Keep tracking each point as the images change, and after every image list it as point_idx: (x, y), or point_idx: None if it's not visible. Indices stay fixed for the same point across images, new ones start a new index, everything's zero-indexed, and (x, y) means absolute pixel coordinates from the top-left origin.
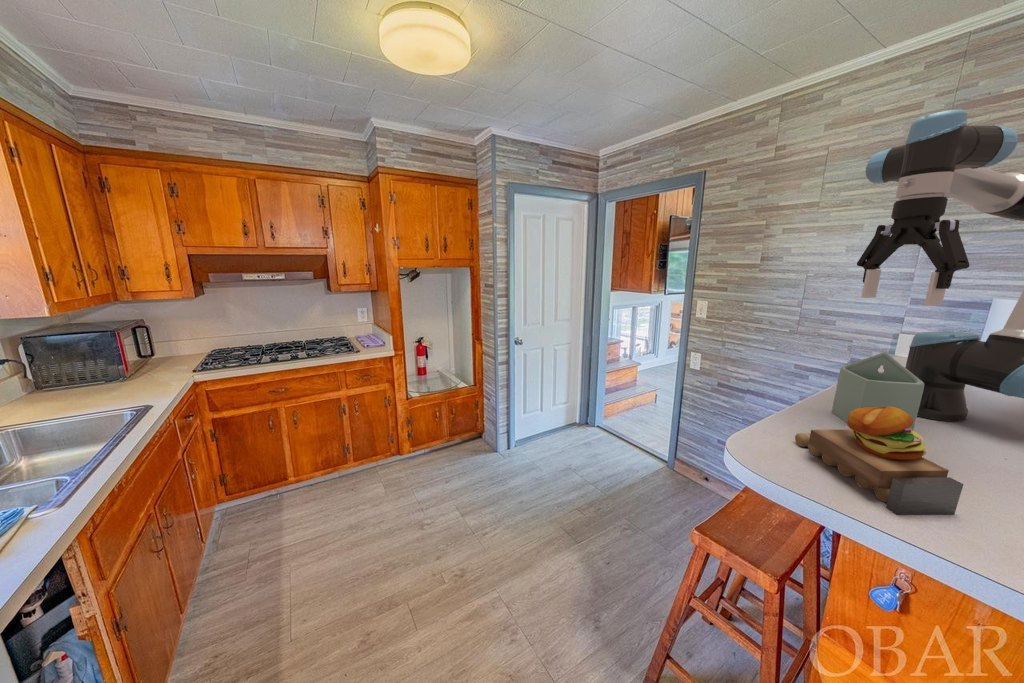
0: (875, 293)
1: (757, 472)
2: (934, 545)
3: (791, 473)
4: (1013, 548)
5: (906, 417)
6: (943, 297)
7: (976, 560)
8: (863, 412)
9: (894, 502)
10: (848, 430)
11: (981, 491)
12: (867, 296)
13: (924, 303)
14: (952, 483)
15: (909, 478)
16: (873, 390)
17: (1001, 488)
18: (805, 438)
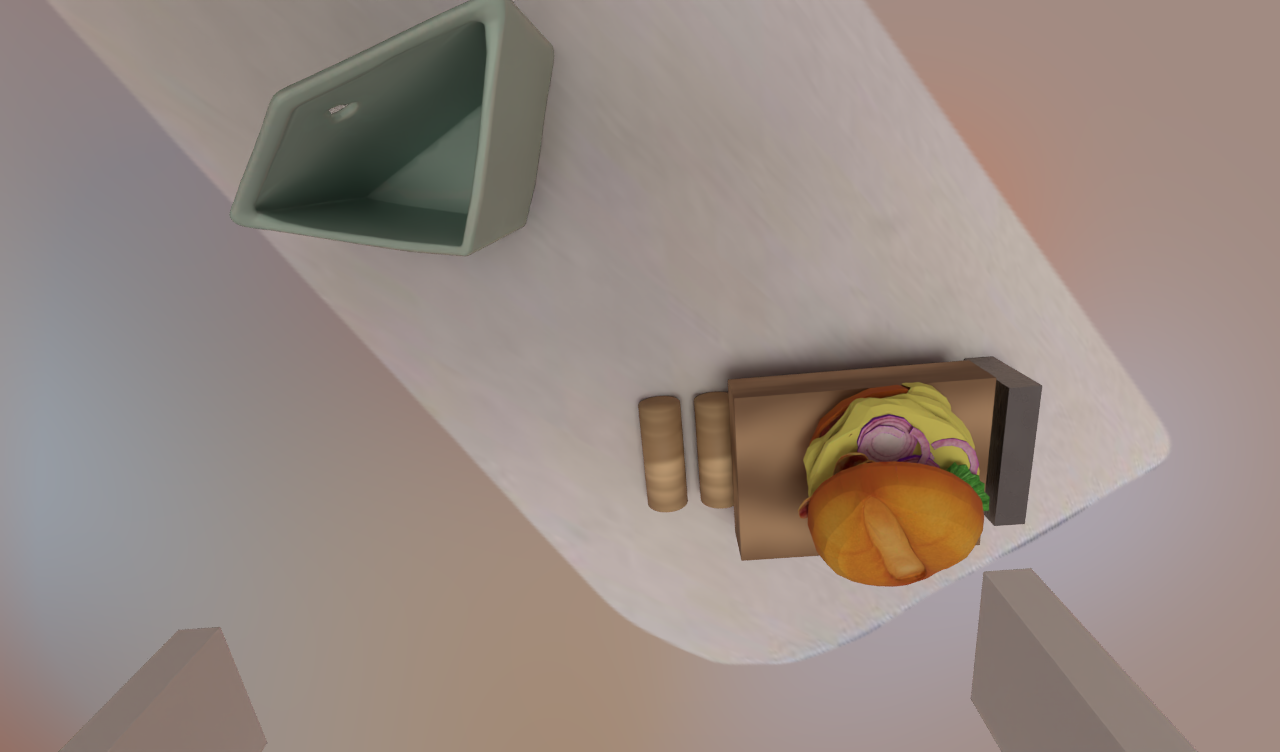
0: (183, 679)
1: (807, 653)
2: (1070, 485)
3: (812, 588)
4: (1102, 343)
5: (979, 523)
6: (1092, 638)
7: (1116, 448)
8: (882, 576)
9: None
10: (744, 457)
11: (911, 183)
12: (247, 728)
13: (979, 713)
14: (1036, 410)
15: (1001, 491)
16: (490, 219)
17: (901, 103)
18: (682, 503)
